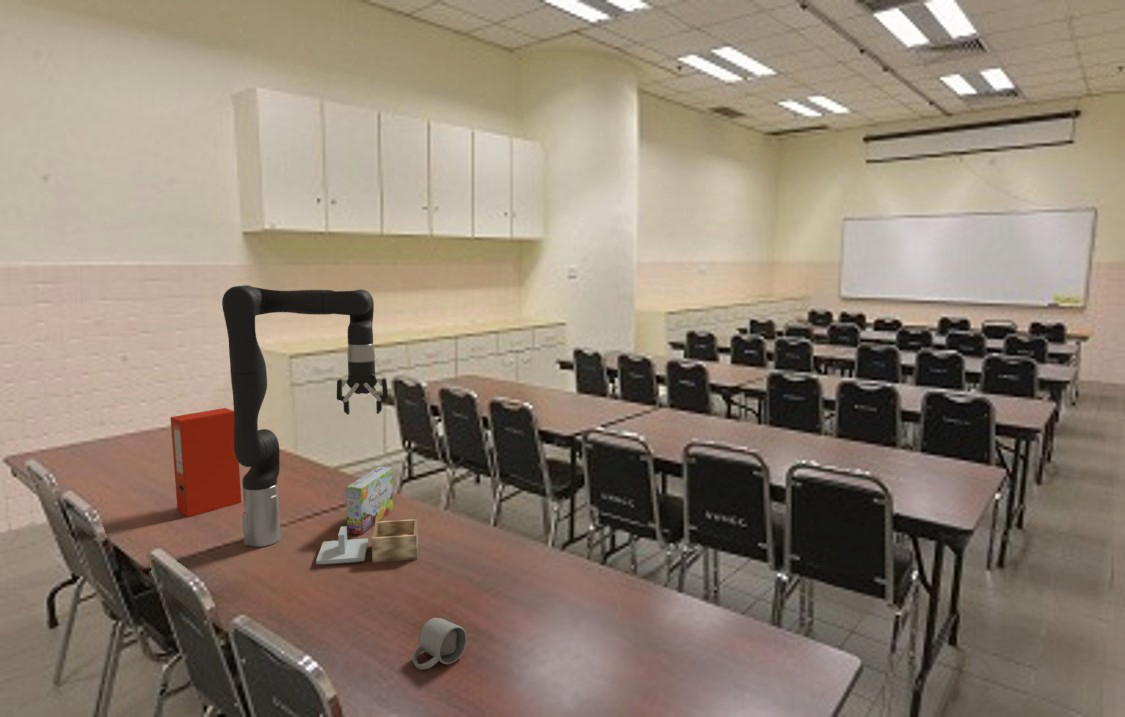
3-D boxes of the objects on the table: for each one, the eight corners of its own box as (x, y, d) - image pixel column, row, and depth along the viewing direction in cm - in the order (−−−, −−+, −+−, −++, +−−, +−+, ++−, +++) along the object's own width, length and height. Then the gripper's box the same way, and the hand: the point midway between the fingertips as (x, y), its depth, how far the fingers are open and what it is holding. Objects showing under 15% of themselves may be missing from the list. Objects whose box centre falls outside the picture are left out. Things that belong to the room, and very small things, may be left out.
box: (372, 562, 185) (371, 538, 184) (376, 544, 197) (375, 521, 196) (416, 559, 187) (416, 535, 186) (417, 541, 199) (417, 519, 198)
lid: (316, 568, 182) (315, 541, 181) (323, 548, 194) (322, 523, 193) (364, 564, 185) (363, 538, 183) (368, 545, 197) (367, 520, 196)
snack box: (363, 535, 203) (361, 488, 201) (346, 534, 204) (344, 486, 202) (394, 510, 224) (392, 466, 221) (378, 508, 225) (377, 465, 222)
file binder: (241, 502, 228) (235, 411, 223) (188, 517, 215) (180, 420, 210) (230, 497, 233) (224, 407, 228) (177, 511, 220) (169, 416, 215)
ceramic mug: (443, 640, 149) (442, 608, 147) (468, 654, 143) (467, 621, 142) (403, 662, 141) (402, 629, 139) (428, 678, 135) (427, 643, 134)
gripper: (333, 361, 189) (336, 417, 191) (385, 360, 191) (387, 415, 194) (337, 357, 196) (339, 411, 199) (387, 356, 199) (389, 409, 201)
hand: (363, 413), depth 196 cm, fingers open, 8 cm apart
